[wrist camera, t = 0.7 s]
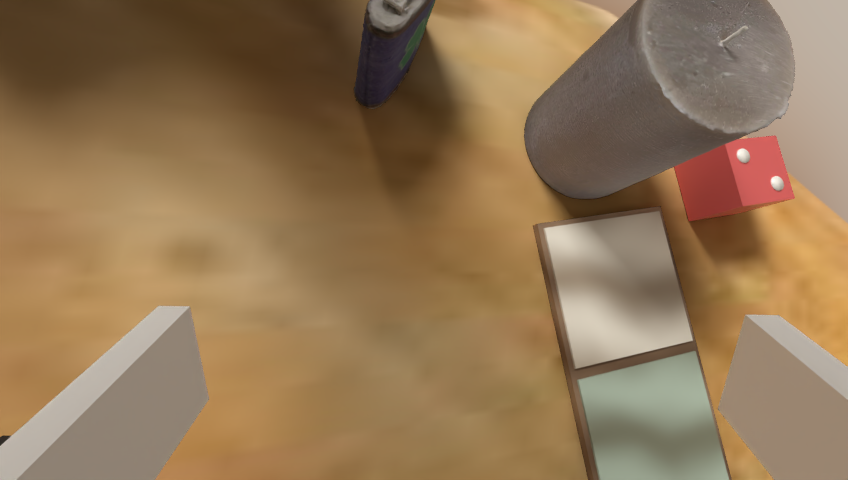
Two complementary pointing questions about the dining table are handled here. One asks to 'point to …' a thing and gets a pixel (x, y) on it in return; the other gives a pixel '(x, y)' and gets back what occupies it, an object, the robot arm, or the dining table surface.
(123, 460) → the robot arm
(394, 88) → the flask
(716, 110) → the pillar candle
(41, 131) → the dining table surface
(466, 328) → the dining table surface
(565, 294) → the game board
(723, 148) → the red die
